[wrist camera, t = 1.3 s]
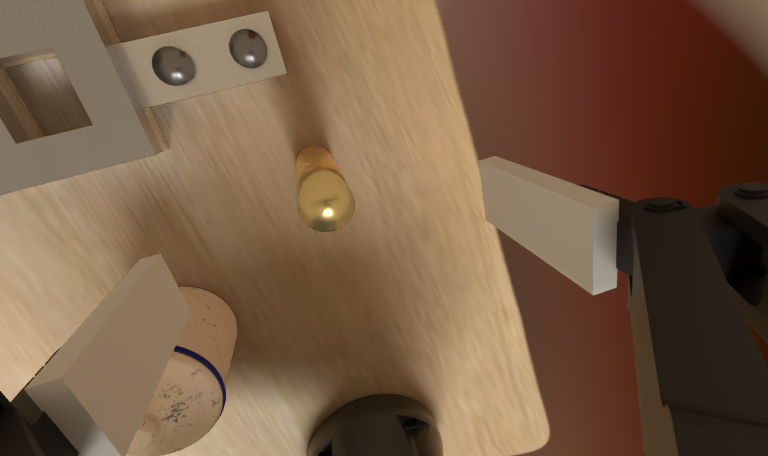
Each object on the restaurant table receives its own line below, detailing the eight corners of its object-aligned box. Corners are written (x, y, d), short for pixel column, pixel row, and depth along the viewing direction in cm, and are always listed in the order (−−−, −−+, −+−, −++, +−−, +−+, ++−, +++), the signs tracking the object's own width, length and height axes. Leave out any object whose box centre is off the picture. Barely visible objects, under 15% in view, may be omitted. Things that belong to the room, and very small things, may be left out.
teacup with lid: (149, 266, 31) (72, 361, 20) (257, 302, 34) (240, 400, 23) (102, 379, 33) (11, 517, 22) (206, 403, 36) (170, 533, 26)
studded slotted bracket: (299, 114, 29) (300, 117, 26) (-130, 225, 26) (-192, 245, 22) (254, -35, 25) (248, -54, 22) (-260, 70, 22) (-358, 67, 18)
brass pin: (337, 176, 32) (360, 222, 21) (302, 185, 31) (307, 238, 20) (327, 141, 30) (346, 170, 19) (291, 150, 30) (289, 186, 19)
